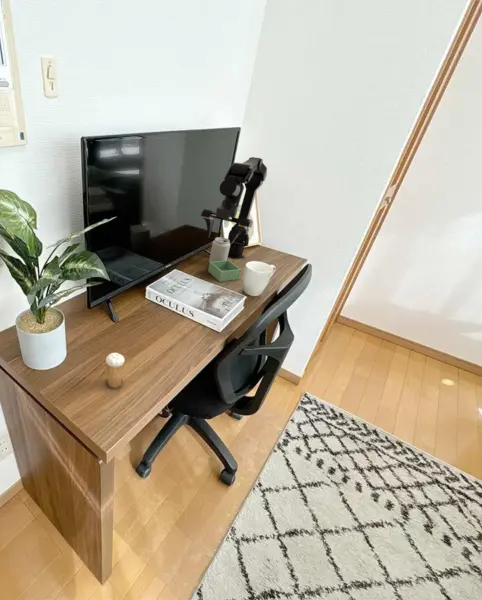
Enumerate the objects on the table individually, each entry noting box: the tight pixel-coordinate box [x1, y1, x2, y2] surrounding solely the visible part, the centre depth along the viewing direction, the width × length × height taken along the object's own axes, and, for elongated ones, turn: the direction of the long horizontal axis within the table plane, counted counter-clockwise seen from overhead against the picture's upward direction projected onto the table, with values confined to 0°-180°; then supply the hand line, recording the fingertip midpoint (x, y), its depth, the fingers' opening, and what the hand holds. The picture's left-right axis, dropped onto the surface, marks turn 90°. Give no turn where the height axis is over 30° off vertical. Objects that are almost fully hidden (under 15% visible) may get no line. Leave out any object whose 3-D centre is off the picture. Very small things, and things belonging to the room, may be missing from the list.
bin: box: [207, 259, 242, 282], centre depth 135 cm, size 9×9×4 cm
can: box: [208, 236, 230, 264], centre depth 142 cm, size 8×8×12 cm
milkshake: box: [105, 352, 126, 389], centre depth 79 cm, size 4×5×10 cm
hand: (219, 240), depth 123 cm, fingers open, 9 cm apart
